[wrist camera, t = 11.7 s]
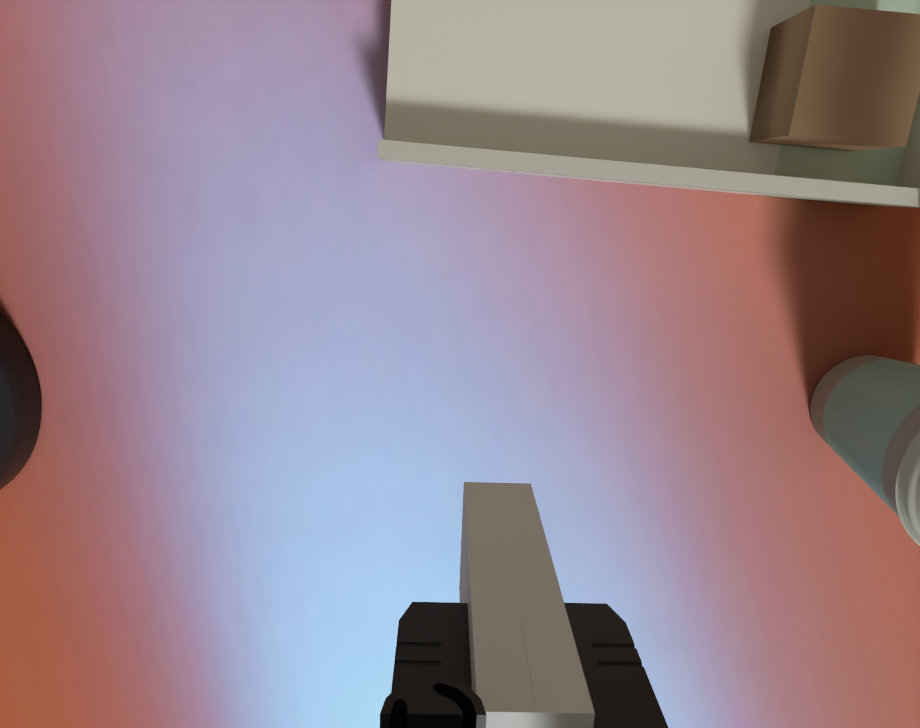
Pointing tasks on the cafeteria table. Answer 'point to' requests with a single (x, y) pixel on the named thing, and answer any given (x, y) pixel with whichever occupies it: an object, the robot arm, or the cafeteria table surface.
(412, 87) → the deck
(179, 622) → the cafeteria table surface
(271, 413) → the cafeteria table surface
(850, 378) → the coffee cup
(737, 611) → the cafeteria table surface
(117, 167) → the cafeteria table surface
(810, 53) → the block
